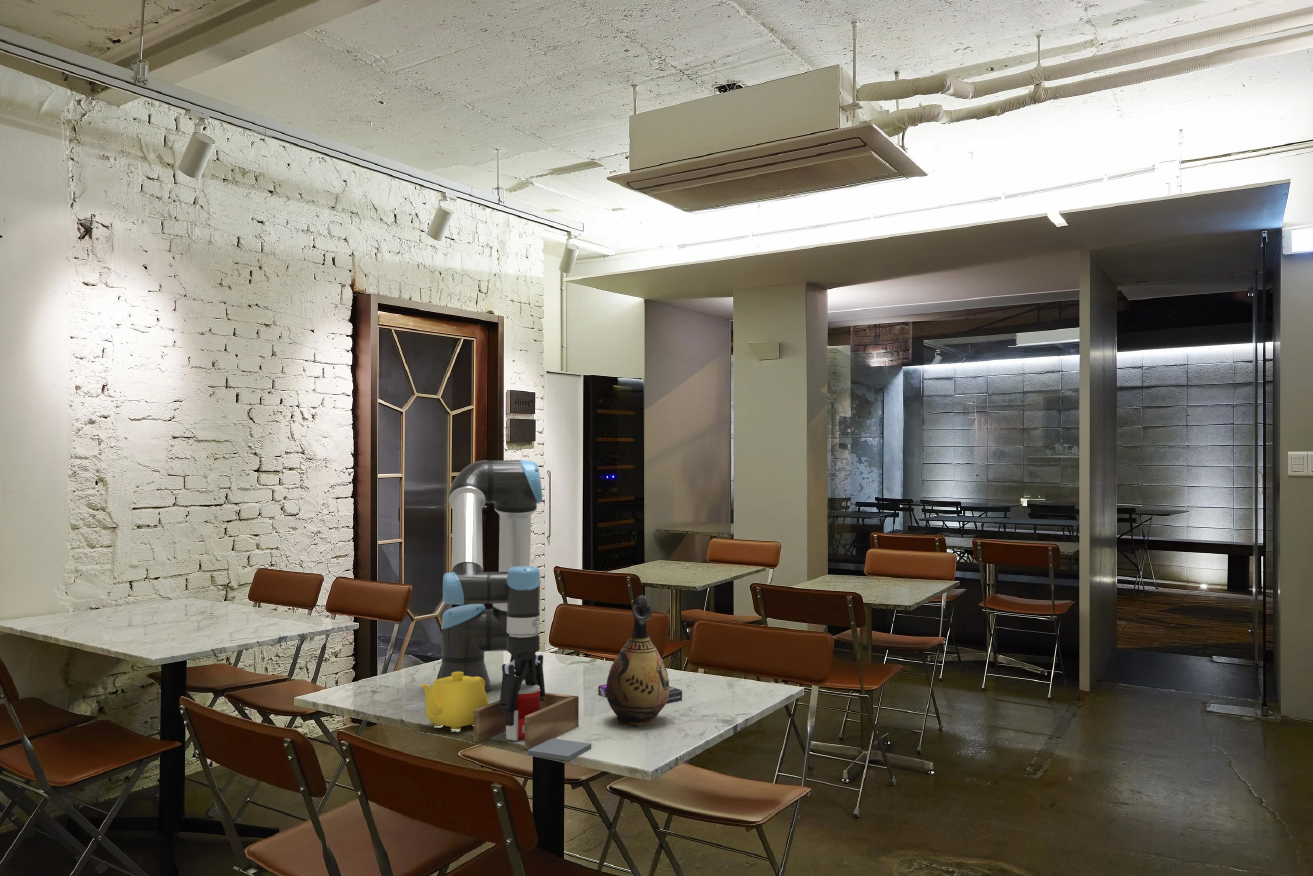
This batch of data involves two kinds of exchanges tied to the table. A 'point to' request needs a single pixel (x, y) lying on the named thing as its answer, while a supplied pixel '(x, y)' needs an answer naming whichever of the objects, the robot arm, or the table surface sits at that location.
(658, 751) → the table surface
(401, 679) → the table surface
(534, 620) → the robot arm
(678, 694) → the box
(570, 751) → the coaster
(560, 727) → the shelf
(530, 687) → the canned food
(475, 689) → the teapot
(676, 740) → the table surface
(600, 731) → the table surface
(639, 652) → the ceramic jug
